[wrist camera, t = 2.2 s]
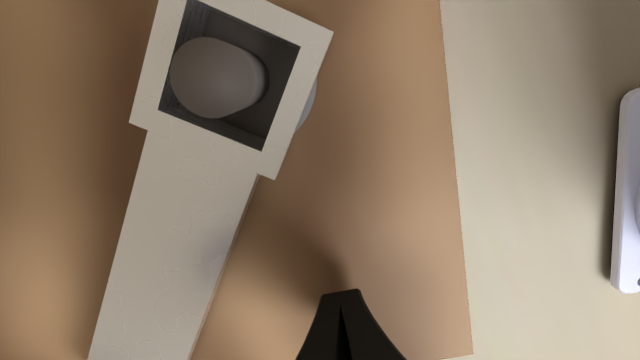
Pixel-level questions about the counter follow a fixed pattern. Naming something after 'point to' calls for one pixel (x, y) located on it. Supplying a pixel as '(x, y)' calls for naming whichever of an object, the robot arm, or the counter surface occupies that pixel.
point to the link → (192, 185)
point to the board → (270, 195)
